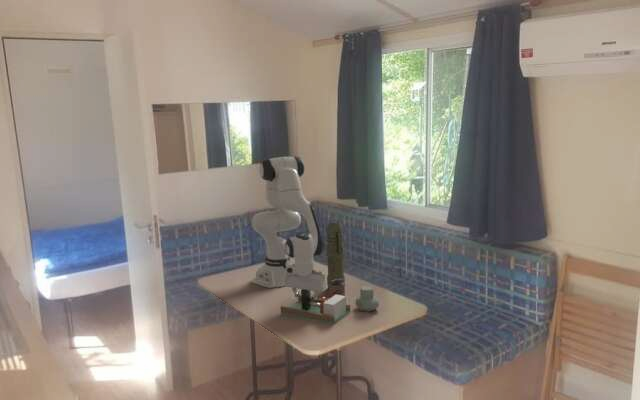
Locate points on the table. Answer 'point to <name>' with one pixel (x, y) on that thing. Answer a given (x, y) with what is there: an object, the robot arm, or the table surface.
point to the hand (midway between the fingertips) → (305, 298)
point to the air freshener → (366, 299)
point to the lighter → (336, 288)
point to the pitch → (332, 310)
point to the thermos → (335, 252)
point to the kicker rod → (307, 302)
